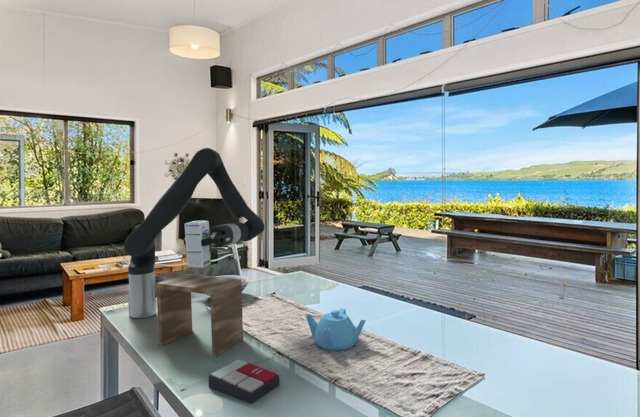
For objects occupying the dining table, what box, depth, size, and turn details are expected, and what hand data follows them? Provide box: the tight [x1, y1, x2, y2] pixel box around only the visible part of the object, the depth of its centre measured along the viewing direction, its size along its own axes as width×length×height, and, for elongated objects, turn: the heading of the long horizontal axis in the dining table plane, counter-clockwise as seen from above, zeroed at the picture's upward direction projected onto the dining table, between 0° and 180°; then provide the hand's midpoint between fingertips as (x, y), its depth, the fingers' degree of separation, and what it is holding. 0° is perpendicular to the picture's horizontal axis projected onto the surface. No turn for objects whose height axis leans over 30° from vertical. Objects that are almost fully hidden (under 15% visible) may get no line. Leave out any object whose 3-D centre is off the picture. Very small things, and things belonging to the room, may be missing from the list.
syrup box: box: [184, 220, 212, 269], centre depth 135 cm, size 6×6×14 cm
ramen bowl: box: [205, 274, 250, 297], centre depth 189 cm, size 25×23×8 cm
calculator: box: [208, 359, 280, 405], centre depth 109 cm, size 11×4×15 cm
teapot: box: [305, 308, 367, 352], centre depth 135 cm, size 15×15×11 cm
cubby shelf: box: [155, 273, 244, 358], centre depth 137 cm, size 23×14×20 cm, turn 66°
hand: (193, 242), depth 133 cm, fingers closed on syrup box, 6 cm apart
